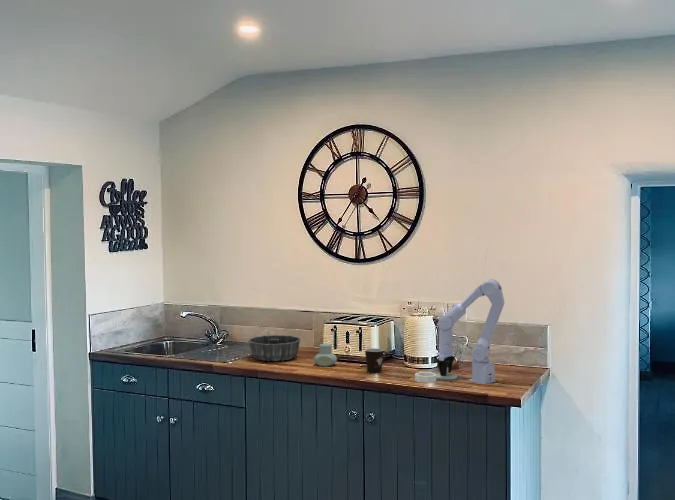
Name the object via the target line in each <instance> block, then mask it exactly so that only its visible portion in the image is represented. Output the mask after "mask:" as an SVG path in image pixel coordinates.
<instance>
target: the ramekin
mask: <svg viewBox="0 0 675 500" xmlns="http://www.w3.org/2000/svg"><path fill="white" fill-rule="evenodd" d="M436 374H437V373H434V372H429V371H428V372H427V371H422V372H421V371H420V372H416V373H414V382H418V383H423V384H424V383H426V384H427V383H430V384H431V383H436V382H437V379H436Z"/></svg>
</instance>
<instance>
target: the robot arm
mask: <svg viewBox="0 0 675 500" xmlns="http://www.w3.org/2000/svg"><path fill="white" fill-rule="evenodd" d="M484 296H485V297H487V298H488V300H489V302H490V303H491V306H490V308H489V312H488V314H487V317H486V320H485V322H484V325H483V328H482V330H481V334H480V336H479V339H478V340H477V342H476V346H474V347H473V348H472V349H471V352H470V353H471V355H470V356H471V378H469V379H467V381H470V382H474V383H478V384H483V385H485V384H490V383H495V382H497V380H496V368H495V365H494V363H492V362H490V359H489V355H490V353H491V349H490V347H491V341H492V339H493V336H494V334H495V330H496V328H497V325H498V322H499V319H500V317H501V313H502V311H503V308H504V305H505V298H504V293H503V287H502V286H501V285H500V283H499V281H497V279H494V278H493V279H492V278H491V279H489V280H486V281H484V282H483V283H482V284H480V285H478V286H477V287H476V288H475V289H473V290H472V291H471V293H469V295H468V296H467V297H466V298H465V299H464V300H463V301H462V302H461V303H455V304H452V305H451V308H450V309H449V310H448V311H447V312H444V315H443V316H441V317H440V318H439V320H438V321H437V325H438V327H439V335H438V337H439V338H438V340H439V341H438V342H439V344H438V345H439V346H438V349H439V351H438V352H436V355H438V358H436V360H435V362H436V365H437V364H438V366H439V369H438V370H439V373H440V375H441V376H446V373H447V367H448V373H450V374H451V372H452V370H451V368H452V364H453V361H454V359H455V360H456V356H455V355H453V354H454V353H453V334H454V333H453V327H454V325H455V324H456V323H457V322H458V321H460V319H462V317H463V316H465V314H466V313H467V309H468V308H469V307H470V306H471V305H473V303H474V302H476V300H478V298H481V297H484Z"/></svg>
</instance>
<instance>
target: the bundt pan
mask: <svg viewBox="0 0 675 500" xmlns="http://www.w3.org/2000/svg"><path fill="white" fill-rule="evenodd" d="M247 341H248V343H249V347H250V353H251V356H253V357H254V359H255V360H257V361H263V362H266V361H267V362H268V363H270V362H272V361H273V362H279V361H280V362H284V361H290V360H292V359H295V358H296V357H297V355H298V353H299V349H300V342H301V341H302V338H300V337H299V336H294V335H285V334H272V335H262V336H254V337H251V338H249V339H248V340H247Z"/></svg>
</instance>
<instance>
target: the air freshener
mask: <svg viewBox="0 0 675 500" xmlns="http://www.w3.org/2000/svg"><path fill="white" fill-rule="evenodd" d="M332 347H333V346H332V344H330V343H321V344H319V347H318V348H319V351H318V353H317V354H316V355H315V356H314V357H313V360H314V363H315V364H316V365H318V366H320V367H324V368H325V367H331V366H333V365H335V364H336V362H338V357H337V356H336V355H335V354H334V353H333V351H332V350H333V349H332Z"/></svg>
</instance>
